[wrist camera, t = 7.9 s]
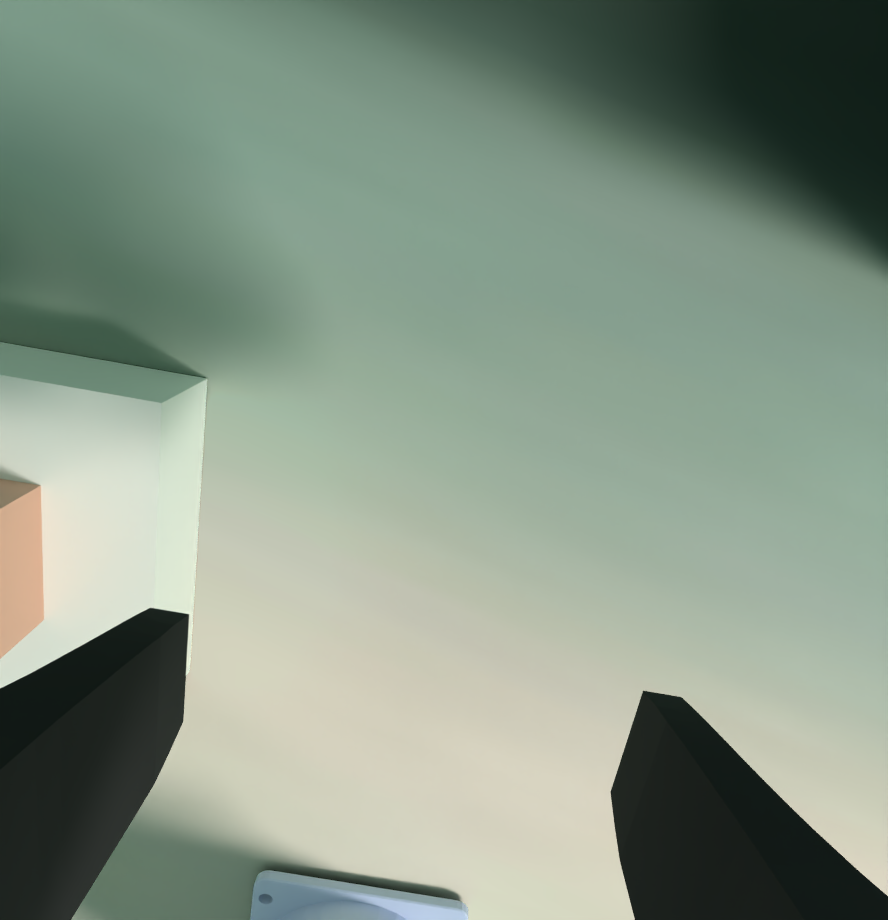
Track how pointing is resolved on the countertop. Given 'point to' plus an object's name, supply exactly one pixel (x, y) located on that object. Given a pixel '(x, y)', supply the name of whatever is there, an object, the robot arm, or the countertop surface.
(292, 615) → the countertop surface
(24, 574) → the block
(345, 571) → the countertop surface
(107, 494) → the slab
